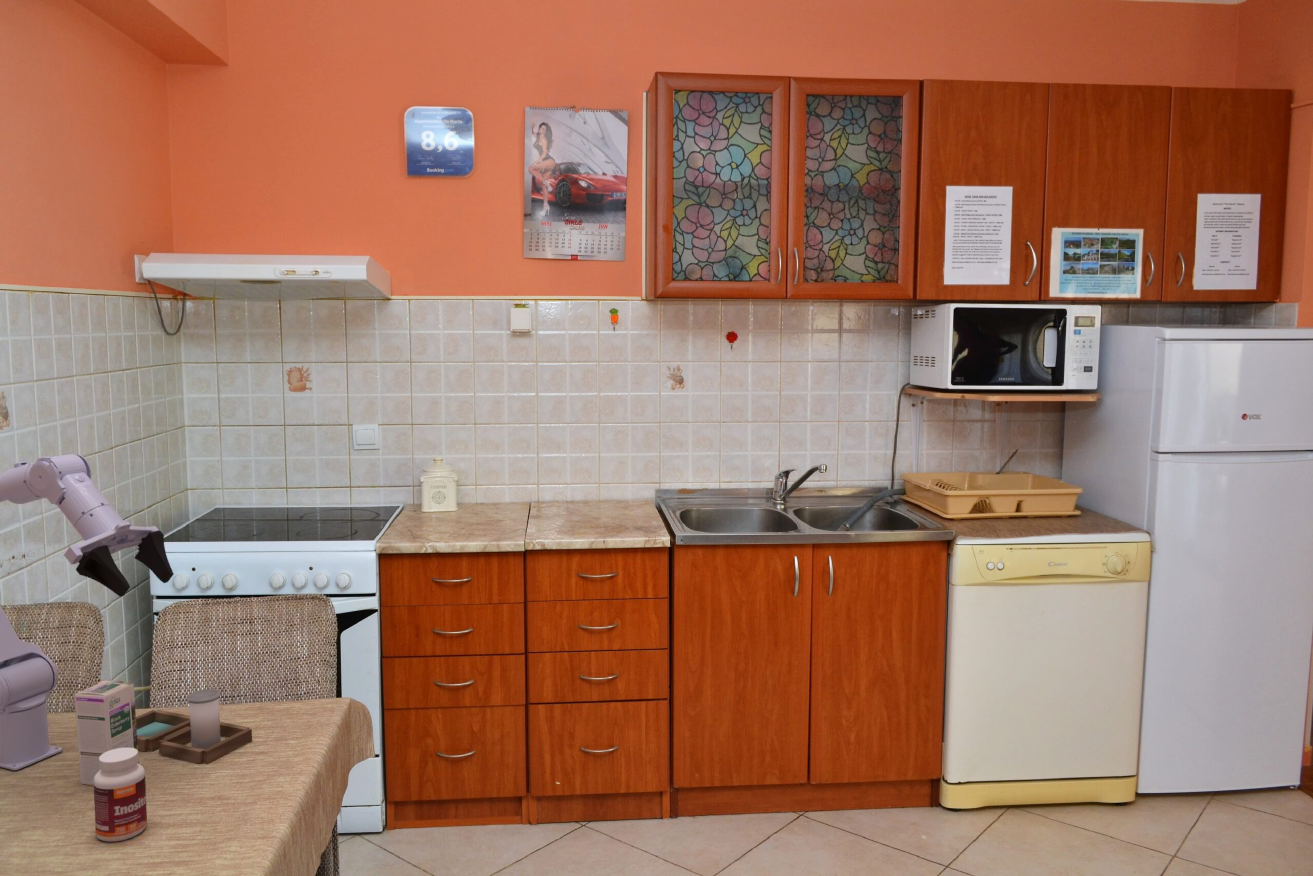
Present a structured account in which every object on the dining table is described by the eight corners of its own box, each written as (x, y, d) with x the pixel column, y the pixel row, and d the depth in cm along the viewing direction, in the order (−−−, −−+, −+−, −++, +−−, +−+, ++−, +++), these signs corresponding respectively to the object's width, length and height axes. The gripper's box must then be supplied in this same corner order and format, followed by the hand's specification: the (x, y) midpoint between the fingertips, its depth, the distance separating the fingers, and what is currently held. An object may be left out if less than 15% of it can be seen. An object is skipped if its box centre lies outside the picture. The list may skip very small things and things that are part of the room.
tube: (183, 750, 156) (181, 697, 156) (206, 739, 161) (204, 687, 160) (205, 755, 155) (203, 701, 154) (228, 743, 159) (226, 691, 158)
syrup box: (112, 788, 143) (107, 695, 142) (78, 784, 144) (73, 692, 143) (140, 771, 149) (135, 681, 147) (107, 768, 150) (102, 678, 148)
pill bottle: (118, 847, 127) (113, 768, 126) (85, 838, 129) (80, 760, 128) (158, 825, 132) (154, 749, 131) (125, 817, 135) (121, 742, 134)
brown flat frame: (102, 742, 159) (102, 731, 159) (155, 720, 169) (155, 709, 169) (205, 765, 151) (204, 753, 151) (254, 739, 161) (254, 728, 161)
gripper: (61, 509, 135) (116, 580, 133) (147, 492, 149) (199, 556, 146) (39, 541, 138) (94, 612, 135) (127, 522, 151) (177, 585, 149)
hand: (147, 585), depth 141 cm, fingers open, 7 cm apart
